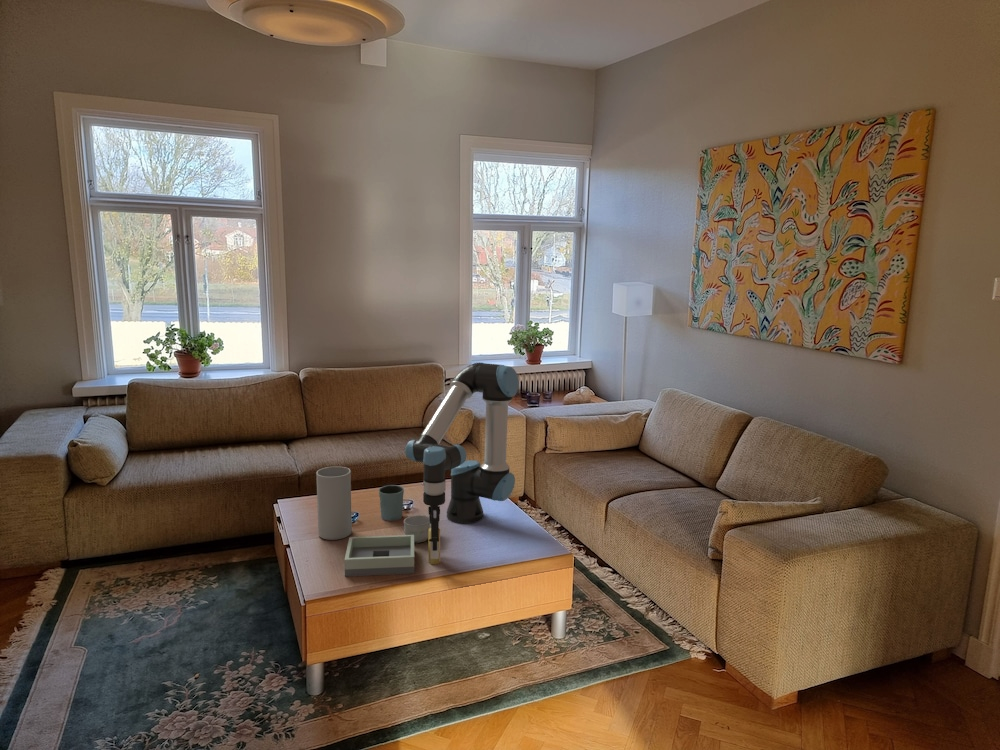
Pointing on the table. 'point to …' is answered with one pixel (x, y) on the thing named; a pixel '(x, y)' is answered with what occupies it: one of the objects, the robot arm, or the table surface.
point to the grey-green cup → (391, 502)
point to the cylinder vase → (334, 502)
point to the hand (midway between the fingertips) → (434, 549)
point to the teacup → (417, 527)
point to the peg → (431, 561)
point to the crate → (380, 555)
